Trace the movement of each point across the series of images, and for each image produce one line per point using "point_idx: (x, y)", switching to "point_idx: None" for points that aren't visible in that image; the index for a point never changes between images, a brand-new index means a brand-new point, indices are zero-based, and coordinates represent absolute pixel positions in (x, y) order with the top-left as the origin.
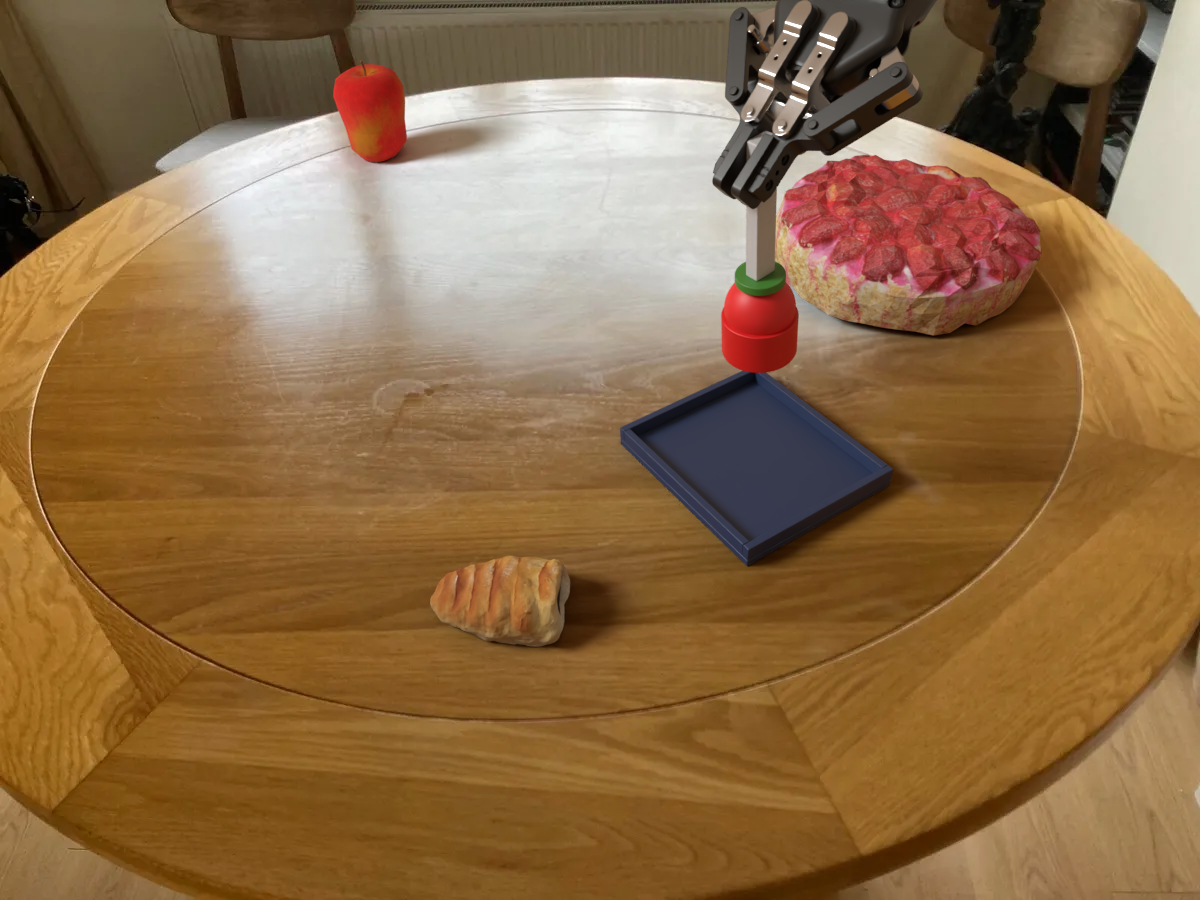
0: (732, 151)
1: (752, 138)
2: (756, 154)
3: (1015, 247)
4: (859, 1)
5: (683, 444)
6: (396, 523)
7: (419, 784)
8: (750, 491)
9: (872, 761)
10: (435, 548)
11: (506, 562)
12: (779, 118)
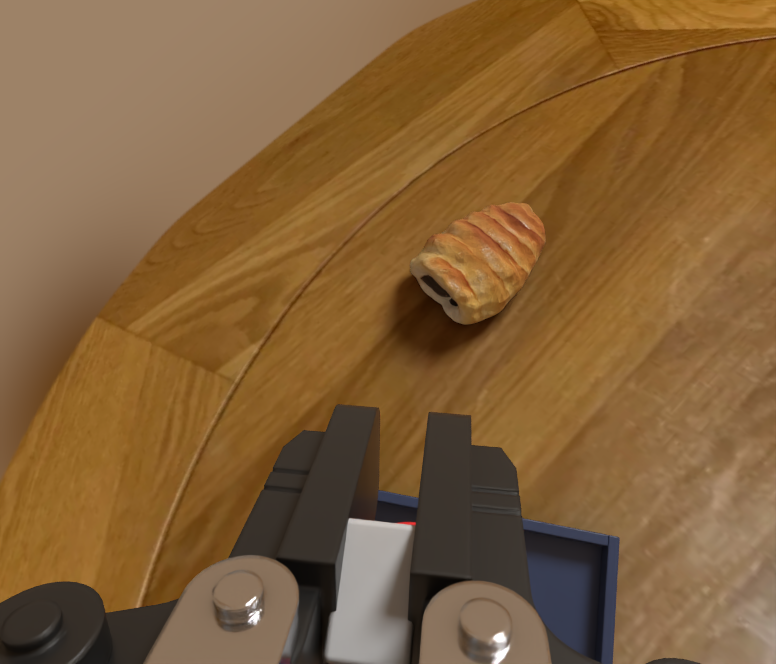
0: (454, 482)
1: (407, 558)
2: (333, 491)
3: None
4: None
5: (542, 595)
6: (665, 257)
7: (391, 131)
8: None
9: (121, 385)
10: (603, 265)
11: (500, 260)
12: (269, 626)
